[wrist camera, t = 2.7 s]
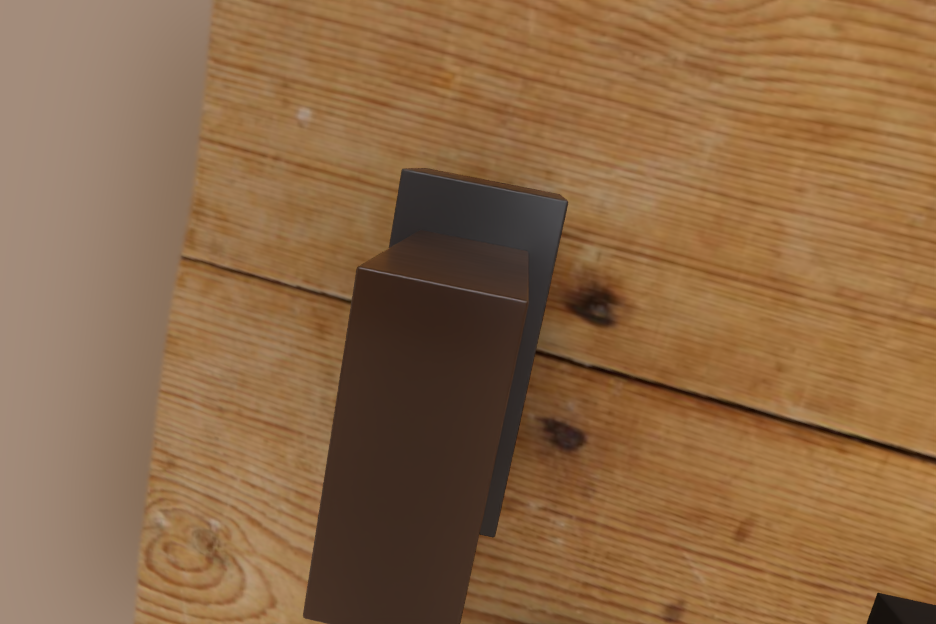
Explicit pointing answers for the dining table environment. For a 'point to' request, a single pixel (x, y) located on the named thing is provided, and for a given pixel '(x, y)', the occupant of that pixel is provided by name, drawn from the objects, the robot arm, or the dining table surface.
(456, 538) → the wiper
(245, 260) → the dining table surface
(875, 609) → the robot arm
